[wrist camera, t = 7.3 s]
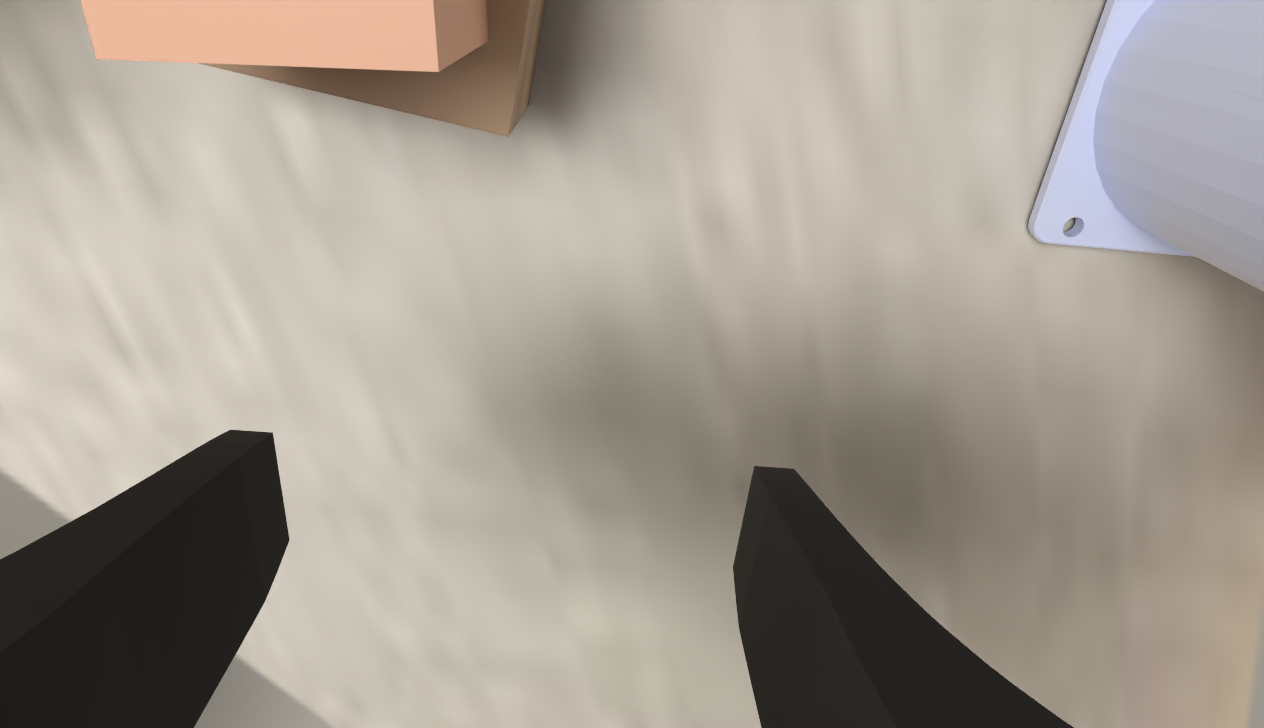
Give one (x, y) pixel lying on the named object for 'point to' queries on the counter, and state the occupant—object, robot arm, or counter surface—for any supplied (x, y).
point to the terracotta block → (290, 32)
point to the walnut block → (442, 76)
